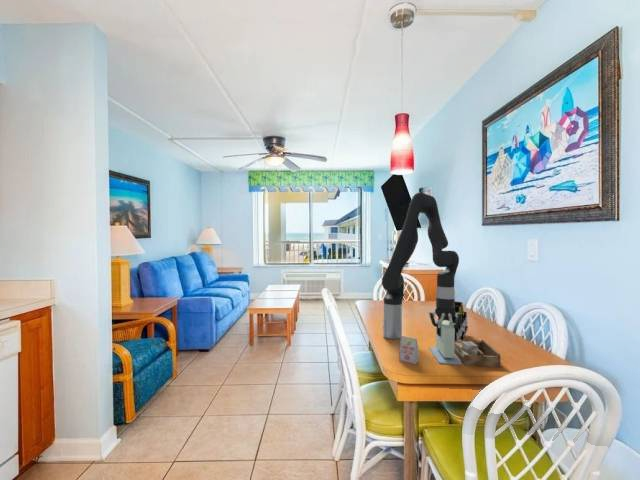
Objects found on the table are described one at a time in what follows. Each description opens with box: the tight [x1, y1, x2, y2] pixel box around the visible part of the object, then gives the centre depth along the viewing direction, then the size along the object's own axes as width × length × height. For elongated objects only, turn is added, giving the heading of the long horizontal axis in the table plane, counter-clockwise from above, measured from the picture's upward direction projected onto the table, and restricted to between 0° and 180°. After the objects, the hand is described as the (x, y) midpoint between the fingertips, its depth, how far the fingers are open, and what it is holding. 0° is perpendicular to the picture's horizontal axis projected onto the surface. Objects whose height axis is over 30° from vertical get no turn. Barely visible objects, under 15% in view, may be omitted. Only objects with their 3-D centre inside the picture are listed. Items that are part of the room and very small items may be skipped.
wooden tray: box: [454, 339, 501, 368], centre depth 140 cm, size 14×19×5 cm
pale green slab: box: [435, 319, 455, 358], centre depth 142 cm, size 4×14×12 cm, turn 174°
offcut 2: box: [461, 340, 478, 354], centre depth 136 cm, size 4×6×4 cm
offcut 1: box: [455, 342, 462, 354], centre depth 145 cm, size 4×7×4 cm, turn 3°
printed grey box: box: [398, 335, 419, 365], centre depth 136 cm, size 4×7×10 cm, turn 53°
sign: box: [452, 301, 469, 341], centre depth 164 cm, size 22×3×20 cm, turn 143°
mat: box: [428, 346, 463, 366], centre depth 142 cm, size 9×18×1 cm, turn 174°
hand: (444, 336), depth 142 cm, fingers closed on pale green slab, 4 cm apart
